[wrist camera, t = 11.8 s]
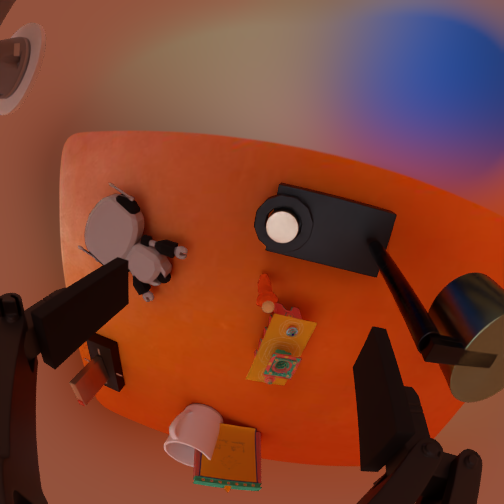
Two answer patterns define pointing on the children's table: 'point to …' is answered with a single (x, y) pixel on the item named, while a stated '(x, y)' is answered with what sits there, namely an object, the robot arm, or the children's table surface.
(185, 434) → the mug
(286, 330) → the building blocks
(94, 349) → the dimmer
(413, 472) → the robot arm
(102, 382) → the small card box
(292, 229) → the lamp switch
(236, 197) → the children's table surface
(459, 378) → the lamp
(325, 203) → the lamp base
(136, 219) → the robot toy
